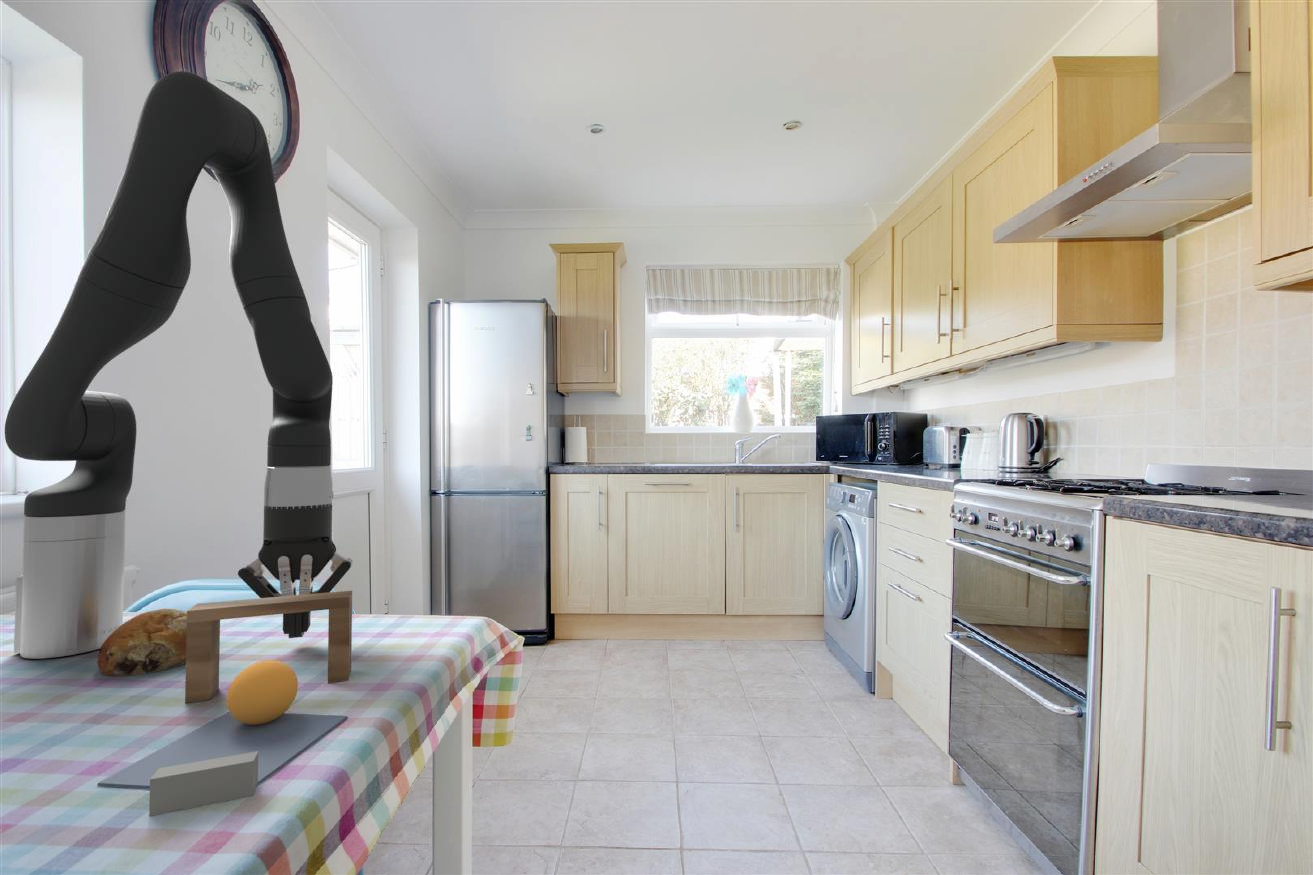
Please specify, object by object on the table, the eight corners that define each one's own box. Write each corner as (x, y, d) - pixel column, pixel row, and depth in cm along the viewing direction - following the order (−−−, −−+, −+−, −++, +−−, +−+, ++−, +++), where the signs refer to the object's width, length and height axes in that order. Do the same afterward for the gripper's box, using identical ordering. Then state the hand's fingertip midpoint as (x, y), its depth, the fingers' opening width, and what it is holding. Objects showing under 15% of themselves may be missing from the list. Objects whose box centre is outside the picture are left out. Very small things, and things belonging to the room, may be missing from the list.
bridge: (195, 691, 60) (197, 603, 60) (351, 670, 66) (352, 590, 66) (185, 703, 57) (186, 610, 57) (348, 680, 63) (349, 596, 63)
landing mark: (97, 785, 43) (97, 782, 43) (229, 712, 55) (229, 710, 55) (245, 793, 42) (245, 790, 42) (347, 717, 54) (347, 715, 54)
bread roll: (215, 683, 71) (239, 617, 75) (142, 676, 62) (173, 602, 66) (144, 679, 72) (171, 614, 76) (61, 673, 63) (96, 599, 67)
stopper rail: (158, 803, 41) (158, 768, 41) (257, 784, 43) (258, 750, 43) (149, 815, 39) (150, 779, 39) (252, 795, 42) (253, 760, 42)
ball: (219, 675, 54) (210, 736, 51) (248, 648, 52) (240, 709, 49) (282, 676, 58) (277, 733, 55) (310, 651, 56) (308, 708, 53)
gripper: (228, 505, 68) (225, 652, 67) (353, 502, 73) (351, 638, 72) (245, 500, 75) (243, 633, 74) (358, 497, 80) (357, 622, 79)
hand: (296, 635), depth 73 cm, fingers closed
